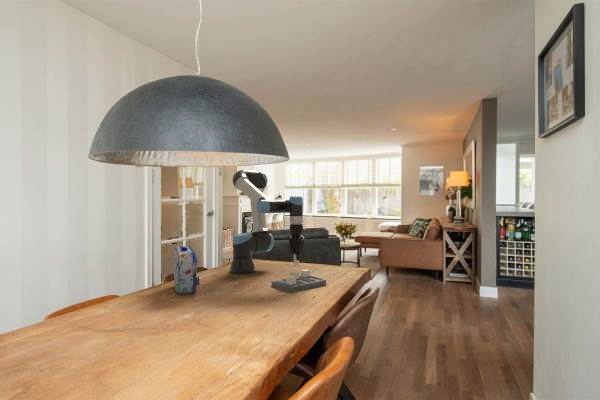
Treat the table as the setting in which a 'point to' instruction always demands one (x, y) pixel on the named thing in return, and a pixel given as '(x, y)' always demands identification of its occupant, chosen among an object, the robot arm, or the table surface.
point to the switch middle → (295, 274)
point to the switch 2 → (305, 273)
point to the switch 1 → (291, 280)
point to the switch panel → (299, 283)
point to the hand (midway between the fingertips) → (296, 265)
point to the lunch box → (185, 270)
